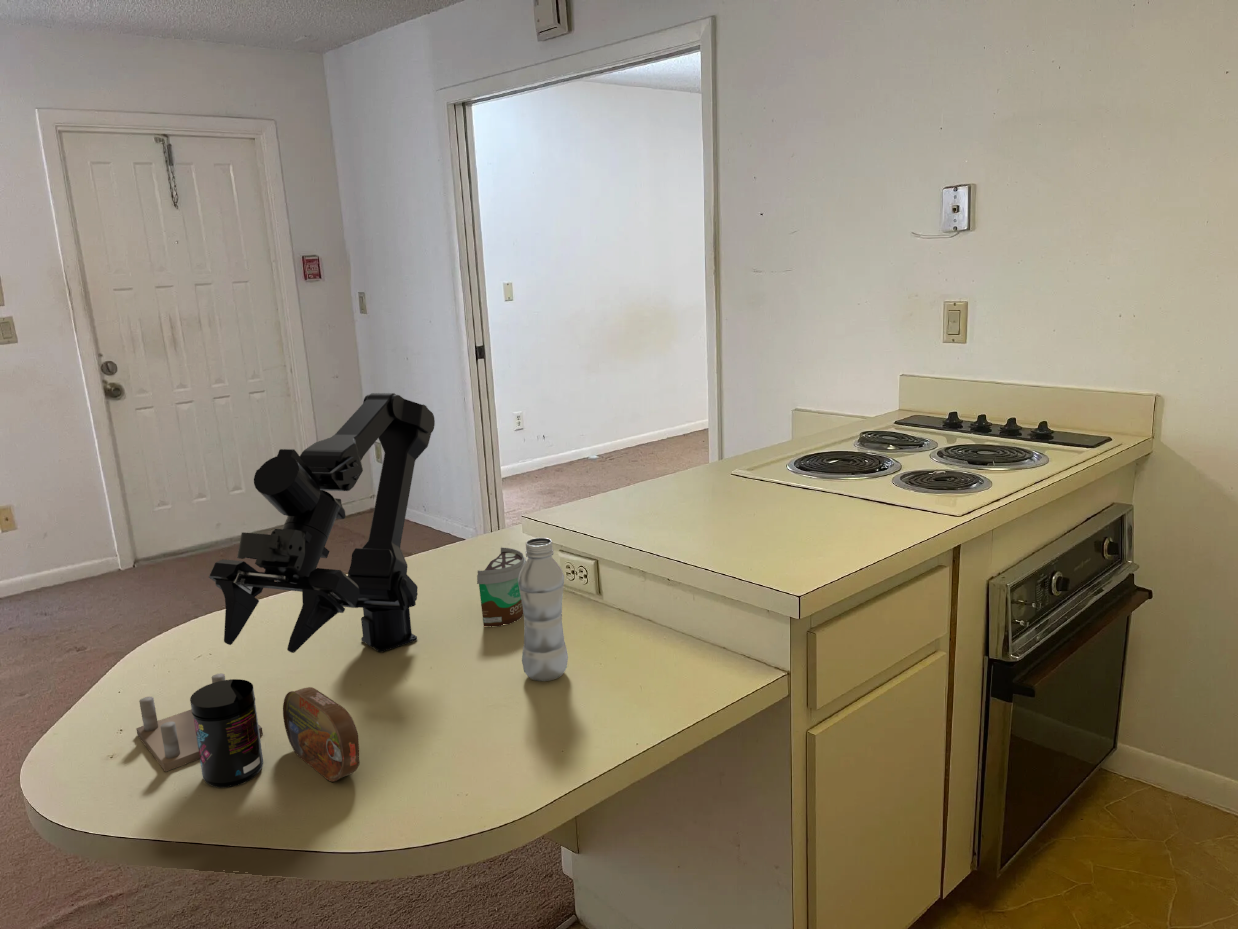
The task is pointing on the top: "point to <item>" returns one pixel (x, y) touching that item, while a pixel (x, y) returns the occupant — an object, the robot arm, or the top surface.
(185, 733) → the cradle
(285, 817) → the top surface
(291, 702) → the tin
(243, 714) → the supplement container
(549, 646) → the plastic bottle
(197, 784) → the top surface
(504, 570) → the food container
